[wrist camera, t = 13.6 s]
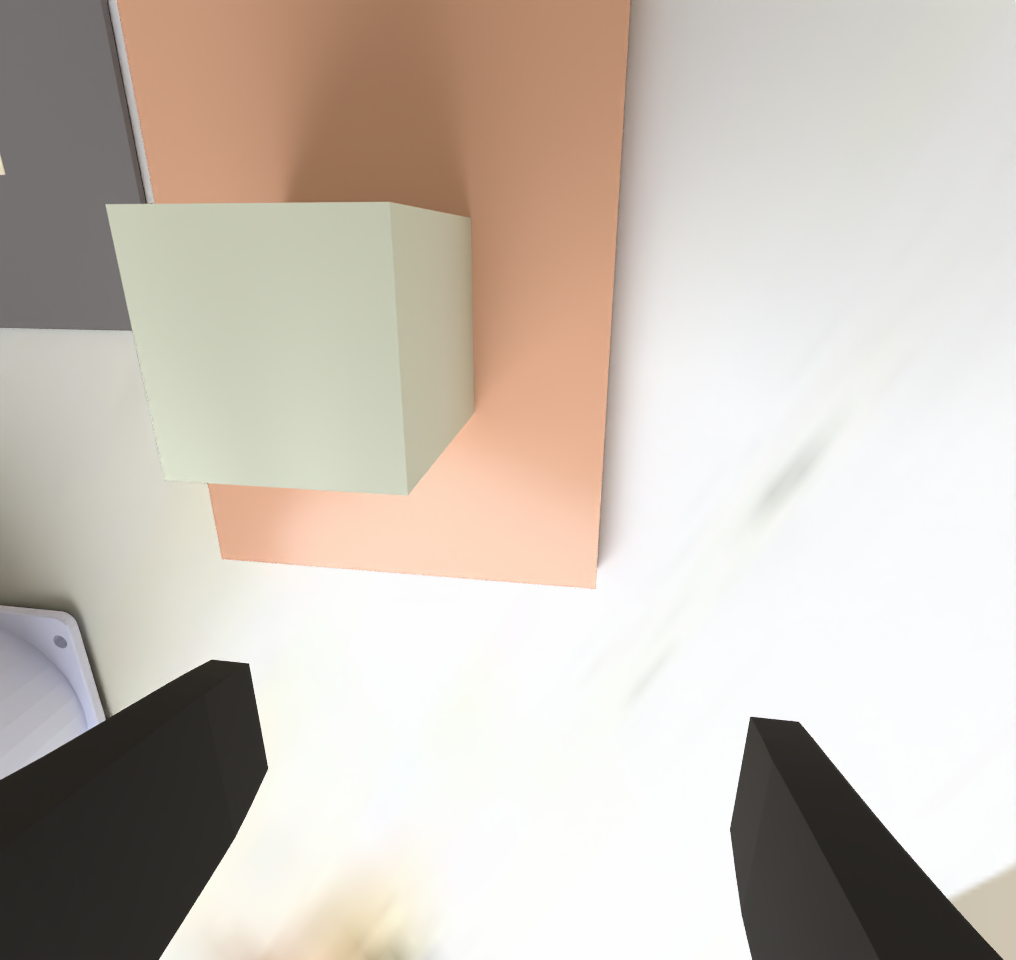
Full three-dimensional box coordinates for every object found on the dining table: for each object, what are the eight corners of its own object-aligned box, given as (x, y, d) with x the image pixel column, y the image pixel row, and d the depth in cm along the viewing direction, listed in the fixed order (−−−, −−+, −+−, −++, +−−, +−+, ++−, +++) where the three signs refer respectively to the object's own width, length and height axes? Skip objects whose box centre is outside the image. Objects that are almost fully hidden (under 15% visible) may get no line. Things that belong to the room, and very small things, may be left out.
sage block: (474, 412, 15) (407, 496, 10) (305, 405, 16) (164, 480, 11) (471, 217, 14) (389, 201, 9) (283, 219, 14) (105, 203, 9)
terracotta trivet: (596, 570, 18) (595, 589, 17) (240, 543, 19) (222, 559, 18) (632, -33, 12) (633, -55, 12) (145, -2, 14) (112, -19, 13)
